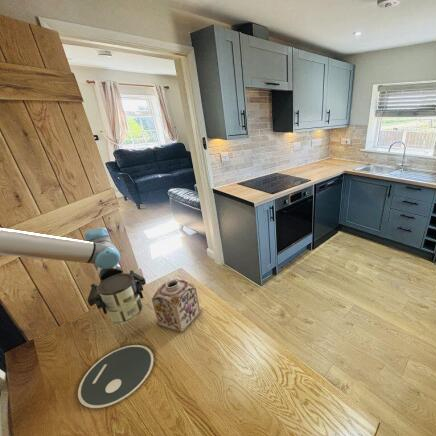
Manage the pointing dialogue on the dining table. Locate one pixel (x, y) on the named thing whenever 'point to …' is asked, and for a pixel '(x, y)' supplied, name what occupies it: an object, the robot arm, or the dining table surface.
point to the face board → (115, 376)
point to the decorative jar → (176, 304)
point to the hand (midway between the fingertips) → (123, 302)
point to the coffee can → (120, 298)
